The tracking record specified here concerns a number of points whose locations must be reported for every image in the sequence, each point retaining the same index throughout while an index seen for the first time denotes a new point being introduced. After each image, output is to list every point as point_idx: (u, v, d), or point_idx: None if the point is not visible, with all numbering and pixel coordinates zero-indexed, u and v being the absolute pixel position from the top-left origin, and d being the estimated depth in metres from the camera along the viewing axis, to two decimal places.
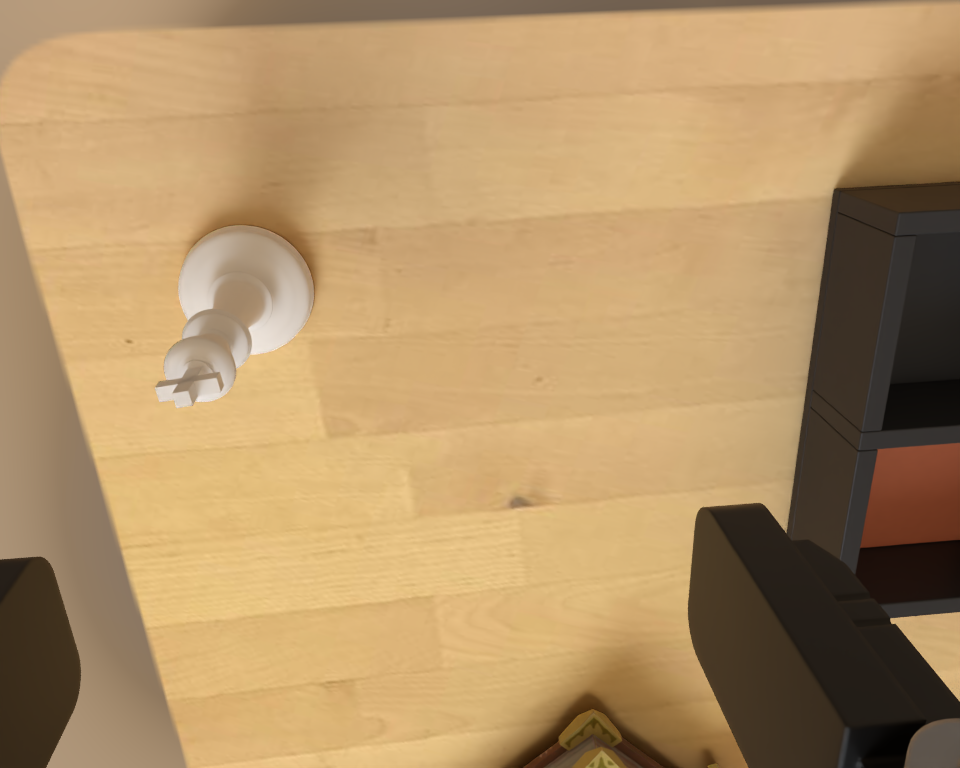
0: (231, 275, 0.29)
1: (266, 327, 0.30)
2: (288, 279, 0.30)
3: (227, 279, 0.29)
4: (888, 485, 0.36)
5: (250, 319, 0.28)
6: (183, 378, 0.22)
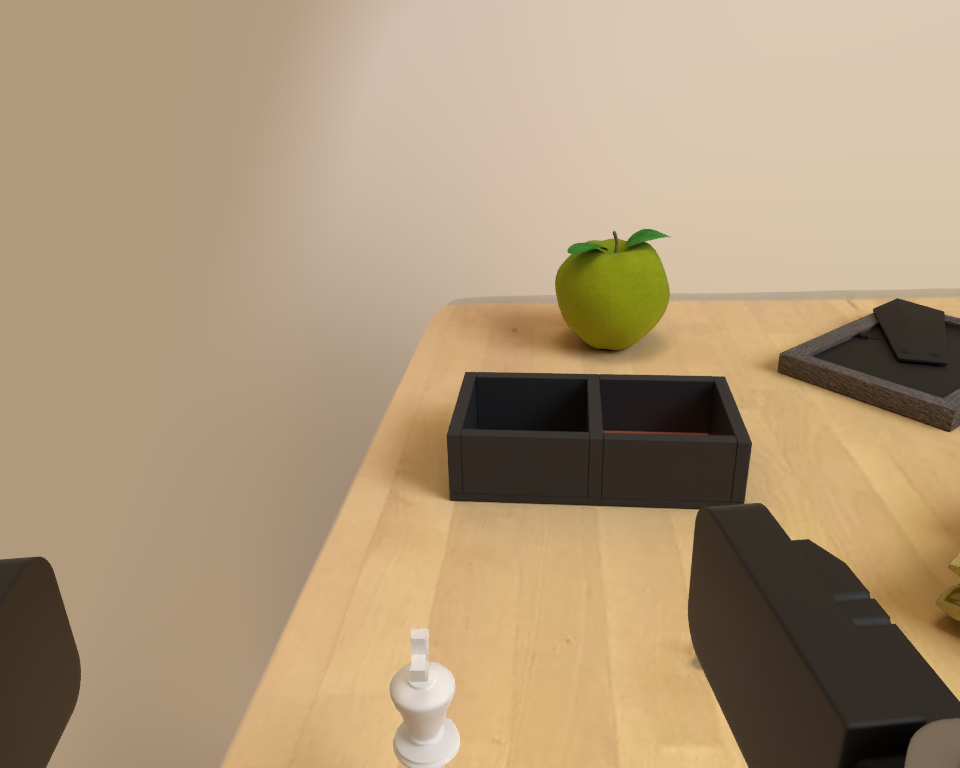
0: None
1: None
2: None
3: None
4: None
5: None
6: None
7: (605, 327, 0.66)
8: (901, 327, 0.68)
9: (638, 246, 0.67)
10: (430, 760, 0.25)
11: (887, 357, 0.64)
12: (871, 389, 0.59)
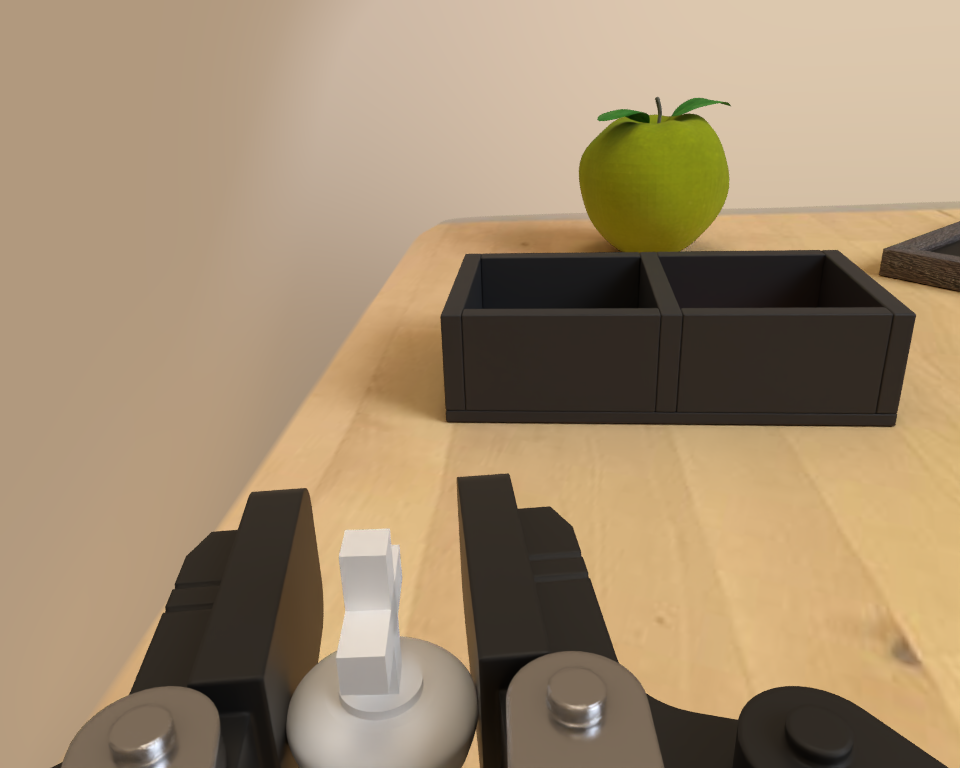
0: None
1: None
2: None
3: None
4: None
5: None
6: None
7: (648, 221, 0.49)
8: None
9: (688, 117, 0.51)
10: None
11: None
12: None
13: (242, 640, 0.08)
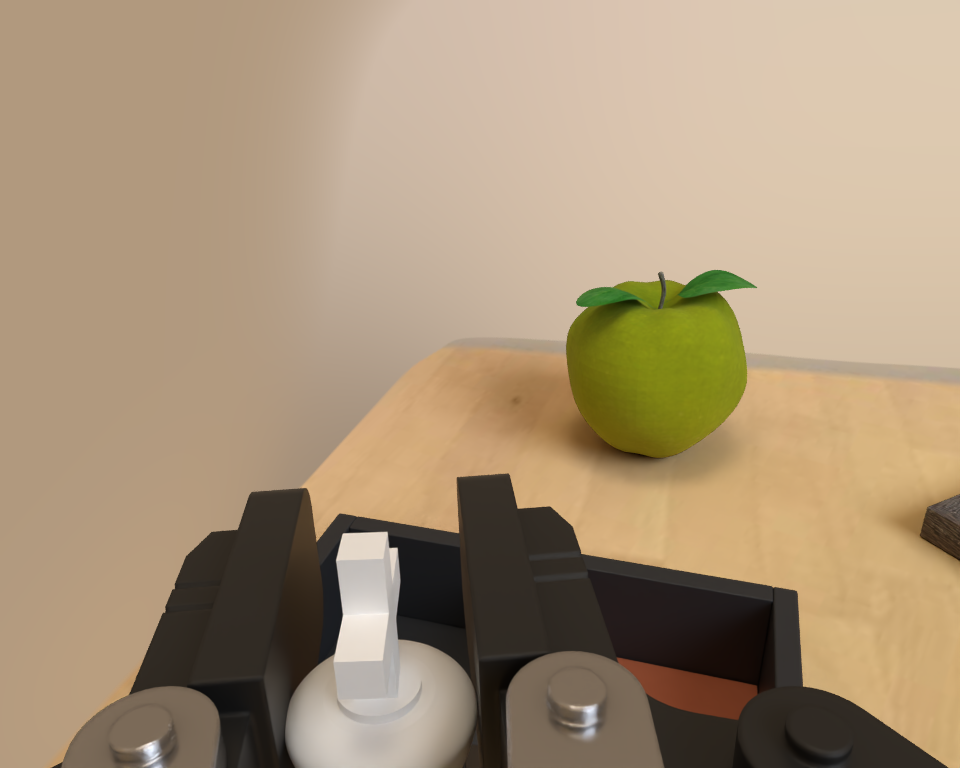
0: None
1: None
2: None
3: None
4: None
5: None
6: None
7: (628, 429, 0.41)
8: None
9: (699, 298, 0.41)
10: None
11: None
12: None
13: (242, 640, 0.08)
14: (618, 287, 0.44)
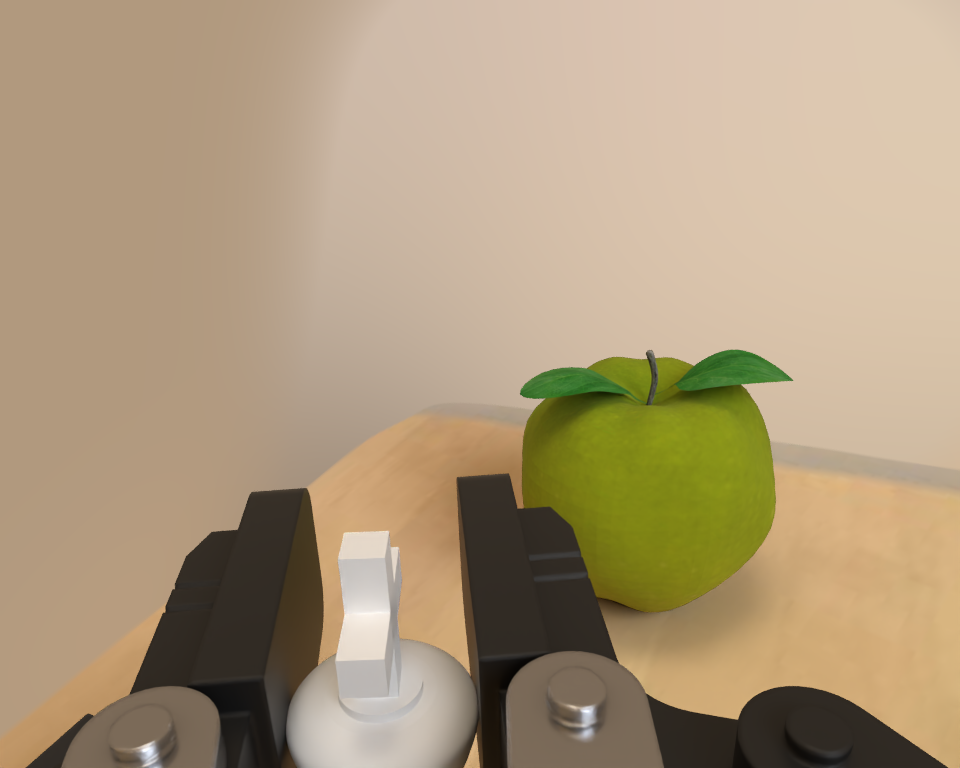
0: None
1: None
2: None
3: None
4: None
5: None
6: None
7: (589, 577, 0.28)
8: None
9: (706, 390, 0.28)
10: None
11: None
12: None
13: (242, 640, 0.08)
14: (598, 365, 0.31)
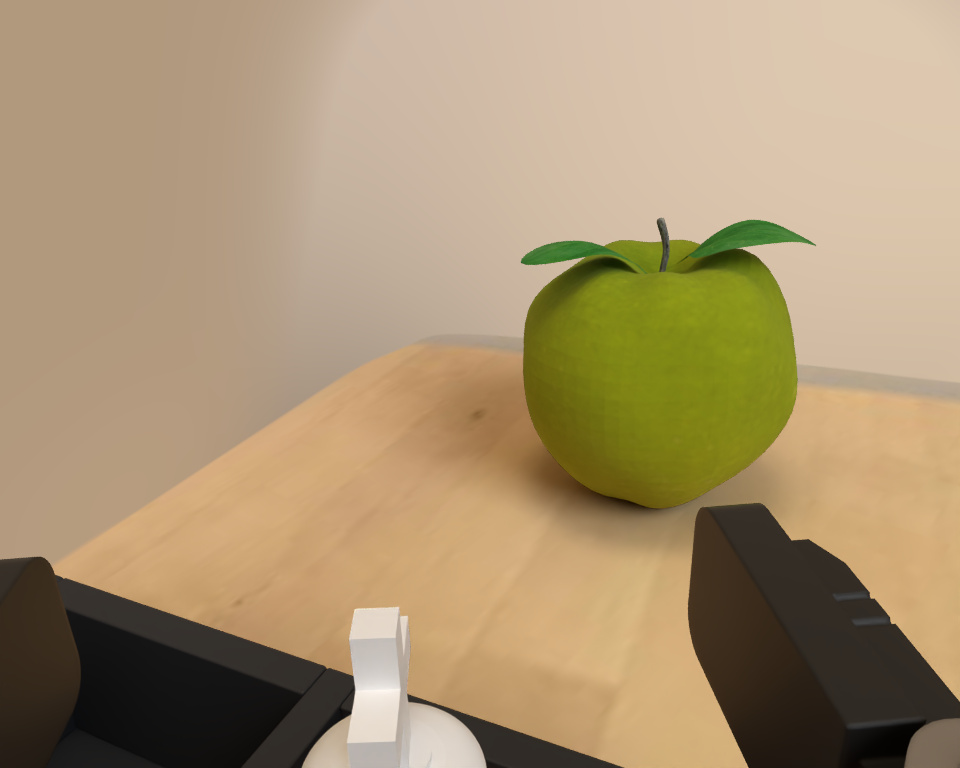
0: None
1: None
2: None
3: None
4: None
5: None
6: None
7: (596, 460, 0.26)
8: None
9: (722, 261, 0.26)
10: None
11: None
12: None
13: None
14: (604, 247, 0.29)
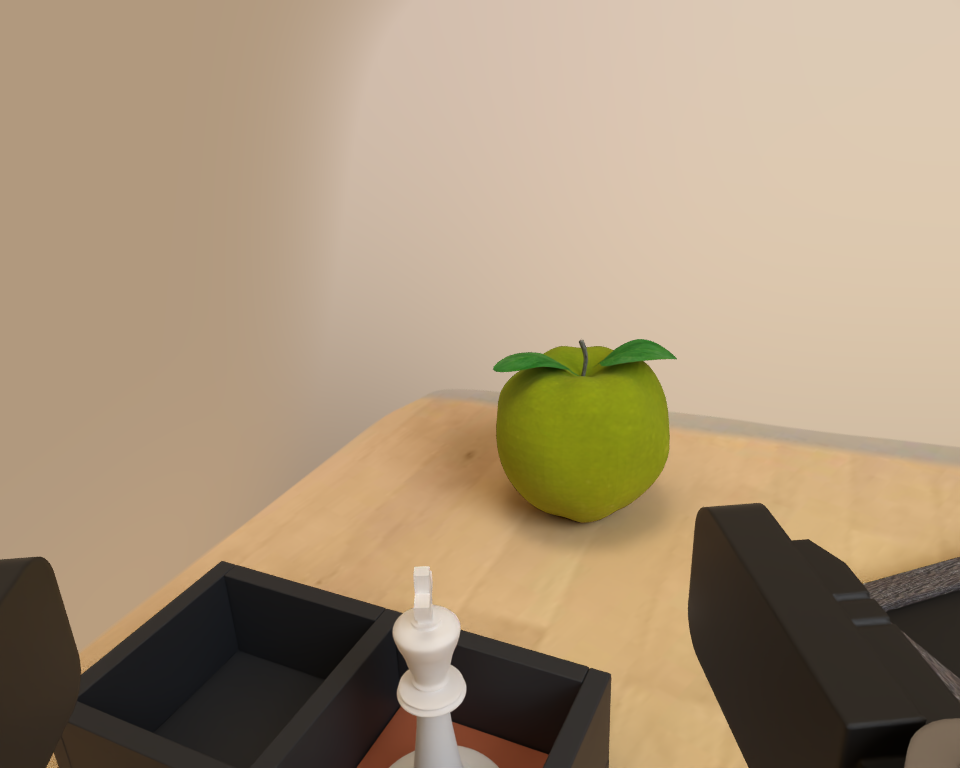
0: None
1: None
2: None
3: None
4: None
5: None
6: None
7: (540, 493, 0.41)
8: None
9: (620, 367, 0.42)
10: (436, 707, 0.24)
11: None
12: None
13: None
14: (549, 352, 0.44)
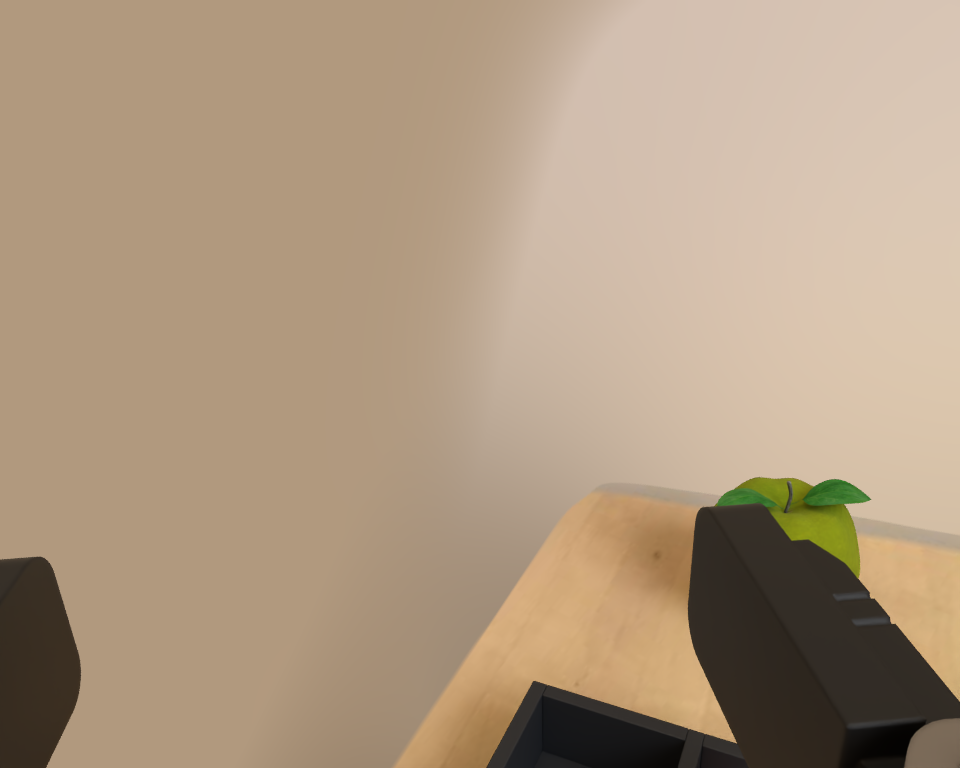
0: None
1: None
2: None
3: None
4: None
5: None
6: None
7: None
8: None
9: None
10: None
11: None
12: None
13: None
14: (751, 483, 0.53)
